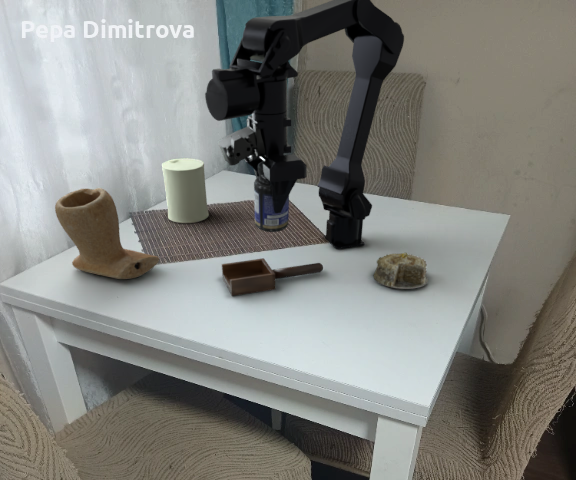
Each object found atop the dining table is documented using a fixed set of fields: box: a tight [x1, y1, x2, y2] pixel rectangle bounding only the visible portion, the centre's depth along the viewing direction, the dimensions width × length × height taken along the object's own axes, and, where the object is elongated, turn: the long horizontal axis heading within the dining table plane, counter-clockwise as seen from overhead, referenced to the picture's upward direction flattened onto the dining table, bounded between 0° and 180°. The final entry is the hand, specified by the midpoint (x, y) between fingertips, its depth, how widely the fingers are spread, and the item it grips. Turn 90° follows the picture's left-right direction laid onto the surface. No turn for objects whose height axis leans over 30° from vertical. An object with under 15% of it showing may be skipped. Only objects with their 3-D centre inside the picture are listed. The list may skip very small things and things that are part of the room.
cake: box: [373, 252, 429, 290], centre depth 104 cm, size 10×10×5 cm
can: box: [161, 157, 210, 224], centre depth 127 cm, size 9×9×12 cm
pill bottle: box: [253, 161, 290, 233], centre depth 100 cm, size 6×6×11 cm
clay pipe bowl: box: [54, 187, 160, 280], centre depth 103 cm, size 15×12×15 cm
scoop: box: [221, 258, 324, 297], centre depth 104 cm, size 18×7×3 cm, turn 109°
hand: (271, 206), depth 101 cm, fingers closed on pill bottle, 6 cm apart
